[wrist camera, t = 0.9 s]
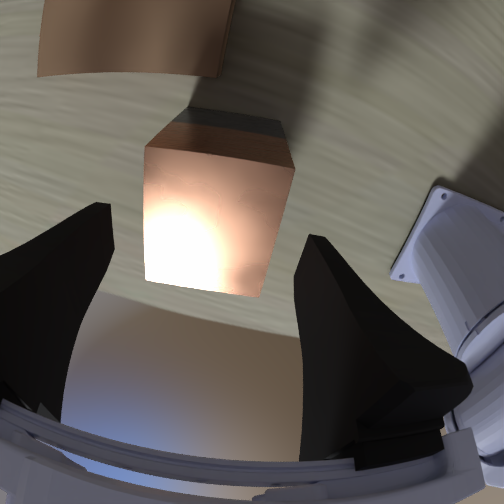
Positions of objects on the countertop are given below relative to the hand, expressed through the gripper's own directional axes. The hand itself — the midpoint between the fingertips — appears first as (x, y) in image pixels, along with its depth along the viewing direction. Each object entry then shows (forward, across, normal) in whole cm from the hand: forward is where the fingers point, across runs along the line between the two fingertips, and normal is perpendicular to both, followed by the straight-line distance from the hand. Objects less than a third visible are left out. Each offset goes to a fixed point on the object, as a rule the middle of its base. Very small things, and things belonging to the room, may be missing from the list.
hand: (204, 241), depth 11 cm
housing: (+8, 0, 0) cm, 8 cm away
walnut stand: (+8, +6, -10) cm, 14 cm away
